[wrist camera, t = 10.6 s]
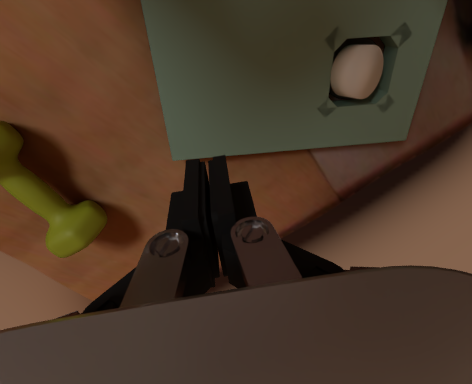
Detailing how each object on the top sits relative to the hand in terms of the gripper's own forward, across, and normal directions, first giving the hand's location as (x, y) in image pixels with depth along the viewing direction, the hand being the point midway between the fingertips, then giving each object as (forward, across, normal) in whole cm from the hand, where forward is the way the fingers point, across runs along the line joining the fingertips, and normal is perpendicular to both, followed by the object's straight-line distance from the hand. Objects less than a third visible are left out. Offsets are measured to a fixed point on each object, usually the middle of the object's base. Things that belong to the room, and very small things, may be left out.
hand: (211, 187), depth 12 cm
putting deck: (+21, -9, +1) cm, 23 cm away
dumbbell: (+22, +21, +9) cm, 32 cm away
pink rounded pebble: (+20, -15, +1) cm, 25 cm away
